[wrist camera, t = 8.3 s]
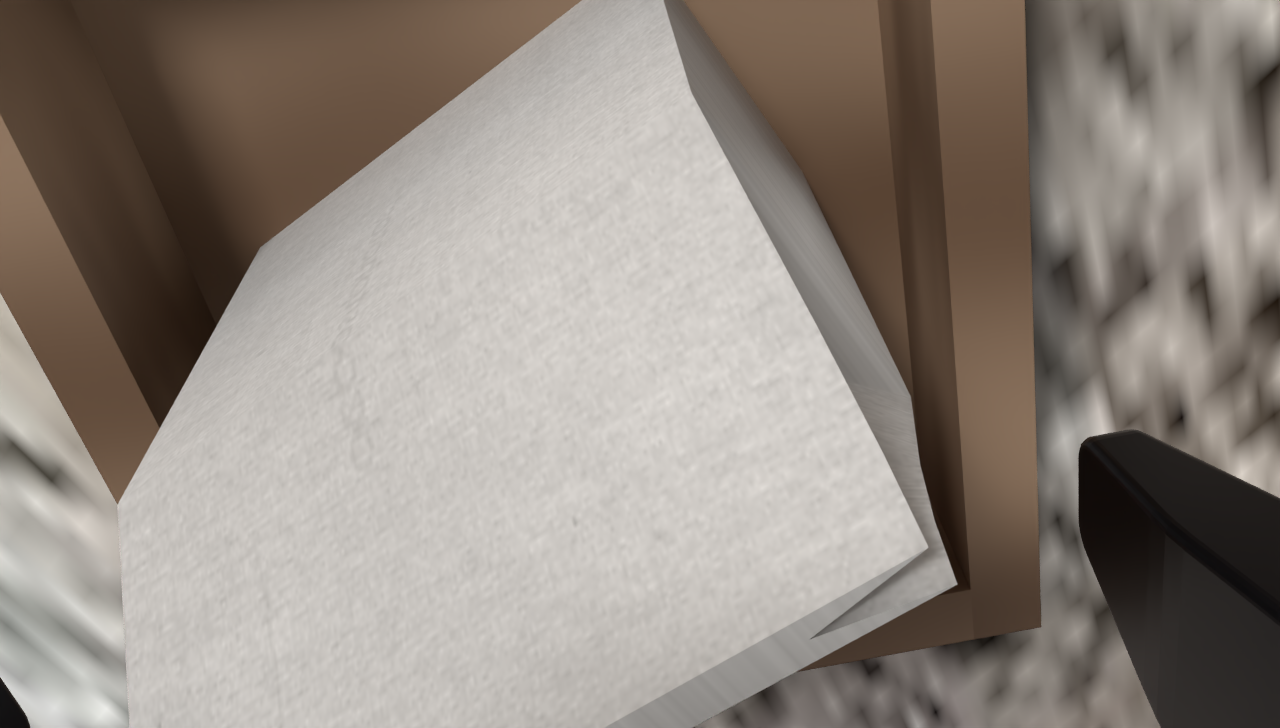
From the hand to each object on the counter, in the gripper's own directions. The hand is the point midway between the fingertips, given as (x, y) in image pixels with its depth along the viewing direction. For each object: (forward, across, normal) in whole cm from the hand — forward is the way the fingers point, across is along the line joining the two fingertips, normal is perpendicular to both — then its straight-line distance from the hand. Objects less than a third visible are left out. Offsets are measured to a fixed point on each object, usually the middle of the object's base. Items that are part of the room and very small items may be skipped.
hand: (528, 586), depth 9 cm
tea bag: (+8, 0, 0) cm, 8 cm away
